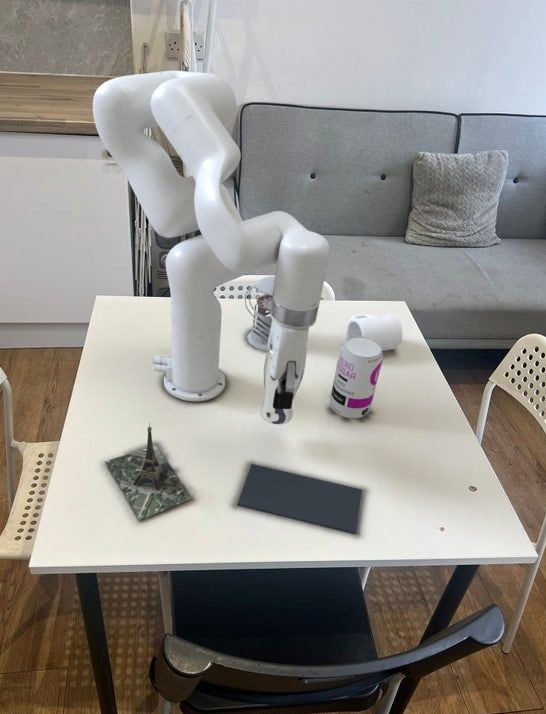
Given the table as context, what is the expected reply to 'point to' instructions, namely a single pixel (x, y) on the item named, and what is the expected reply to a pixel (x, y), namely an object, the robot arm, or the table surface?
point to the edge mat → (301, 498)
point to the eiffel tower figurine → (148, 480)
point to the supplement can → (356, 377)
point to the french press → (262, 313)
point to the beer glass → (270, 385)
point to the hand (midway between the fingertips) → (279, 394)
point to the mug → (377, 329)
